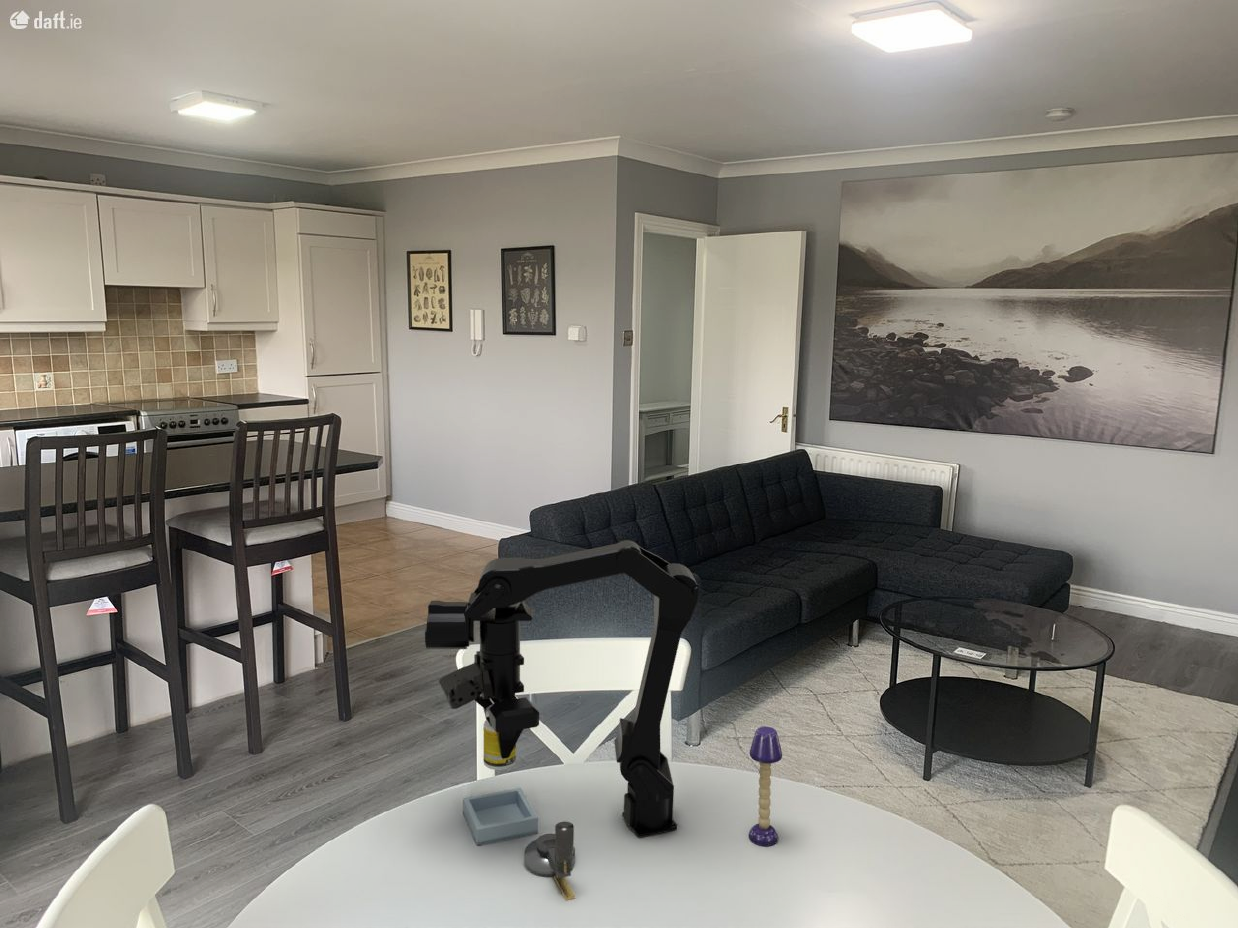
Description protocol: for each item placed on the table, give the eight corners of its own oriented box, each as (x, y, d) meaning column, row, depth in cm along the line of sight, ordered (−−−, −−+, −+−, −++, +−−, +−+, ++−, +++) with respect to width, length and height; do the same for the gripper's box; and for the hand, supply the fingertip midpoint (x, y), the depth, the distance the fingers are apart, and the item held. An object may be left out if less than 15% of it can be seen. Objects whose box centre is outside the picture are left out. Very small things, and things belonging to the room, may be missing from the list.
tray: (520, 802, 139) (520, 787, 139) (537, 833, 131) (538, 817, 131) (462, 813, 136) (462, 797, 136) (477, 845, 128) (477, 829, 127)
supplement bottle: (510, 772, 129) (510, 717, 128) (478, 768, 130) (478, 714, 129) (520, 756, 134) (520, 703, 132) (489, 753, 135) (489, 700, 133)
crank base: (565, 842, 129) (565, 832, 129) (595, 893, 118) (596, 882, 118) (518, 852, 127) (518, 842, 126) (544, 905, 115) (544, 894, 115)
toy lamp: (741, 841, 131) (747, 733, 128) (749, 824, 135) (755, 720, 132) (774, 849, 129) (780, 740, 126) (781, 832, 133) (787, 726, 130)
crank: (533, 843, 125) (534, 796, 124) (558, 839, 127) (559, 792, 126) (553, 884, 117) (553, 833, 116) (579, 878, 118) (580, 828, 117)
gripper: (430, 633, 134) (432, 731, 137) (459, 680, 117) (460, 791, 120) (503, 624, 139) (503, 719, 141) (540, 668, 122) (540, 776, 124)
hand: (500, 749), depth 132 cm, fingers closed on supplement bottle, 5 cm apart
